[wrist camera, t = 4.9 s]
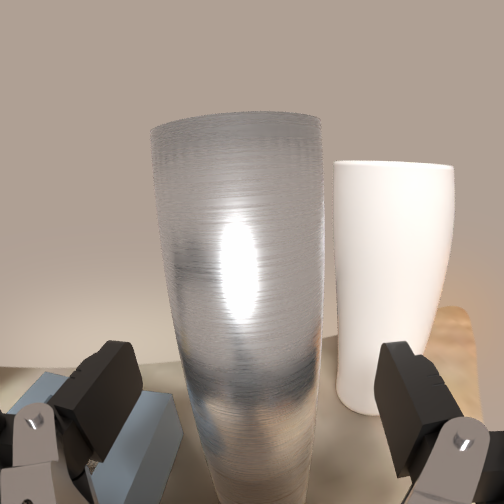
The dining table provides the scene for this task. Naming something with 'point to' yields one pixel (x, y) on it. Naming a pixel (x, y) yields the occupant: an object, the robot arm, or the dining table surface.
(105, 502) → the blue square frame
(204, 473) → the dining table surface
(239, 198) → the steel pin
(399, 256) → the drinking glass
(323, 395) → the dining table surface
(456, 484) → the robot arm
